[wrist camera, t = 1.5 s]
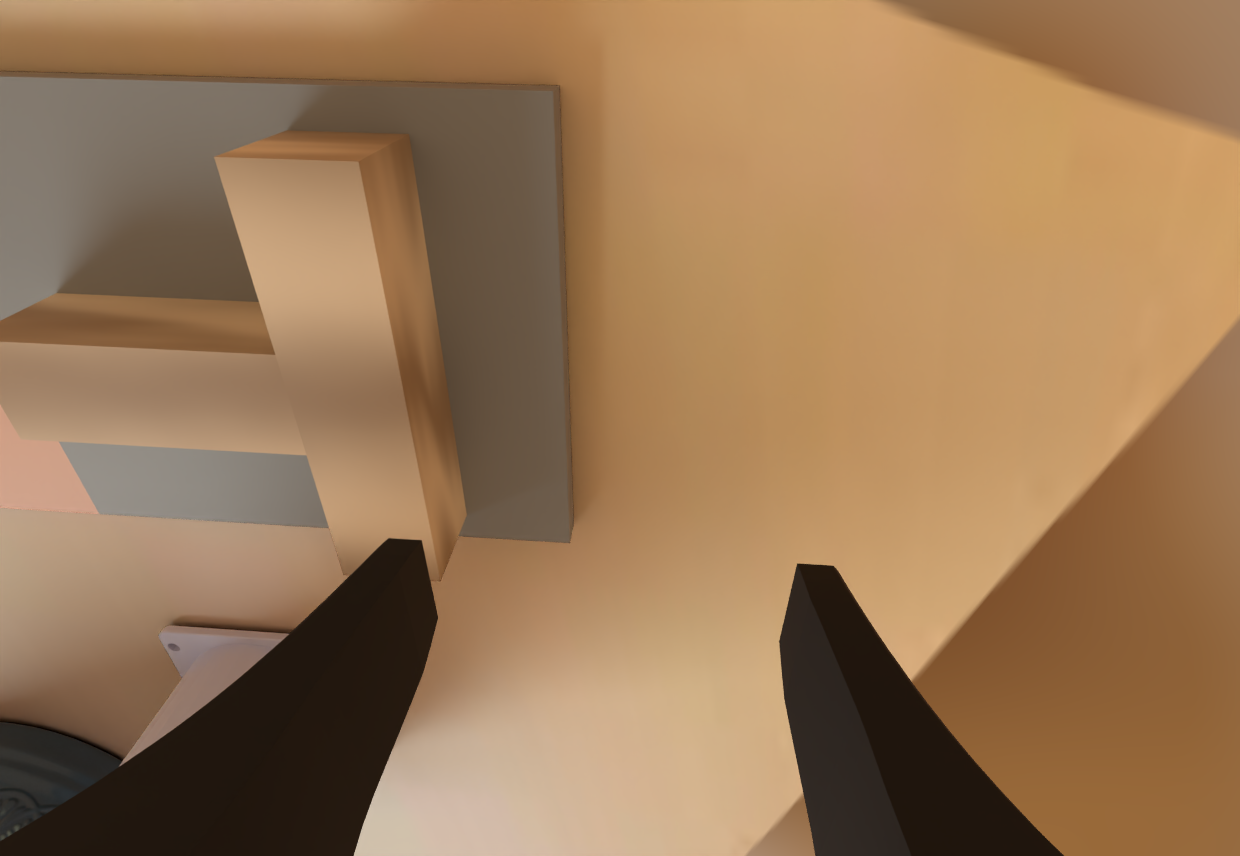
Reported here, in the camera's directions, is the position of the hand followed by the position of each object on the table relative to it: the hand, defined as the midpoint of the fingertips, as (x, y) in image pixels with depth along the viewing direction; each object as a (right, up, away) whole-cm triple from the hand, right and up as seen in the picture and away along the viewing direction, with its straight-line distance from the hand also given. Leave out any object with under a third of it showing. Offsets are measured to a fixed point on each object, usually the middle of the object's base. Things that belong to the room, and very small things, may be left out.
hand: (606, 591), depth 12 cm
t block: (-10, +5, +8) cm, 14 cm away
